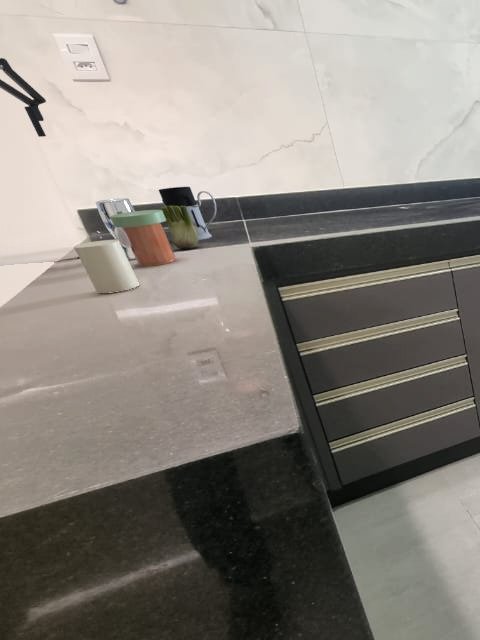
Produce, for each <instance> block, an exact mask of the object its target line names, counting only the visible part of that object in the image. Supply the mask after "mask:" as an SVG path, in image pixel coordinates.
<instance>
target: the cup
mask: <svg viewBox="0 0 480 640" xmlns="http://www.w3.org/2000/svg"><path fill="white" fill-rule="evenodd" d="M122 230H123V232H124V234H125V236H126V238H127V240H128V243H129V245H130V247H131V249H132V251H133V253H134V255H135V258H136V259H135V260H136V262H137V264H138V265H139V266H140V267H155V266H161V265H166V264H170V263H173V262H176V261H177V259H176V256H175V253H174V251H173V248H172V246H171V243H170V241H169V239H168V237H167V234H166V232H165V230H164V227H163V225H162V222H161V223H157V224H151V225H145V226H137V227H125V228H122Z"/></svg>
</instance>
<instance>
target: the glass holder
mask: <svg viewBox="0 0 480 640" xmlns="http://www.w3.org/2000/svg"><path fill="white" fill-rule="evenodd" d="M158 192H159V195H160V197H161V201H162V204H163V207H166V206H171V208H172V210H173V207H172V206H178V207H179V209H180V211H181V208H180V206H186V208H187V211H188V214H189V217H190V219H191V221H192V223H193V225H194V227H195V230H196V232H197V236H198V241H201V240H207V239H210V238H212V237H213V236H212V234H211V233H210V232H209V230H208V227H209V226H210V225H211V223H212V221H214V219H215V217H216V216H217V203H216V200H215V197H214V196H213V194H212V193H211V192H208V191H206V190H202V191H201V190H200V191H199V192H198V193H197V196H196V199H197V201H198V202H197V201H196V199H195V196H194V194H193V191H192V188H191V187H190V186H177V187H166V188H160V189H158ZM203 193H205V194H207V195H209V197H210V198H211V200H212V203H213V208H214V209H213V215H212V217H211V218H210V219H209V221H208V222H207V223H206V222H205V219H204V218H203V217H204V216H203V214H202V212H201V209H200V207H201V206H202V201H201V194H203ZM173 212H174V210H173ZM174 214H175V212H174ZM181 214H182V212H181ZM175 216H176V214H175ZM182 216H183V215H182ZM176 218H177V217H176ZM177 220H178V219H177Z"/></svg>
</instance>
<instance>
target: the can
mask: <svg viewBox="0 0 480 640" xmlns="http://www.w3.org/2000/svg"><path fill="white" fill-rule="evenodd" d="M73 248H74V250H75V252H76V254H77V256H78V259H79V260H80V262H81V264H82V266H83V268H84V270H85V272H86V274H87V276H88V278H89V279H90V282H91V284H92V286H93V288H94V290H95V292H96V294H98V293H109V292H116V291H121V290H125V289H130V288H134V287H136V286H139V284H140V283H139V280H138V278H137V276H136V274H135V272H134V270H133V268H132V266H131V263H130V260H128V259H127V257H126V255H125V253H124V250H123V248H122V246H121V244H120V242H119V240H115V239H104V240H103V239H102V240H95V241H89V242H84V243H80V244H77V245H74V246H73ZM139 287H140V286H139ZM134 289H135V288H134Z"/></svg>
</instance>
